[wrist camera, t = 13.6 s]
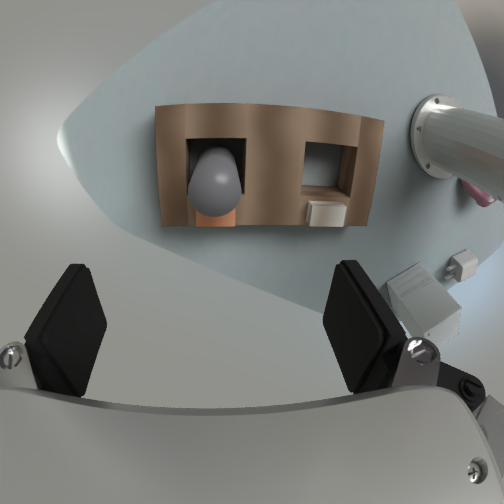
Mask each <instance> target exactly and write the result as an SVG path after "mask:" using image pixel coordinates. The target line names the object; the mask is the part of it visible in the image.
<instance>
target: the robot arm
mask: <svg viewBox="0 0 504 504" xmlns="http://www.w3.org/2000/svg"><path fill="white" fill-rule="evenodd" d="M410 139H411V147H412V151H413V154H414V157H415V159H416V161H417V163H418V164H419V166H420V167H421V168H422V169H423V170H424V171H425V172H426V173H428V174H429V175H431V176H433V177H435V178H439V179H445V178H449V177H452V176H453V175H454V176H456V177H458V178H460V179H462V180H464V181H466V182H468V183H469V184H471V185H473V186H475V187H477V188H479V189H480V190H482V191H484V192H486V193H487V194H489V195H491V196H492V197H494V198H496V199H497V200H499V201H501V202H502V203H504V119H501V118H498V117H494V116H491V115H487V114H483V113H479V112H475V111H471V110H466V109H464V108H463V107H462V105H461V104H460V103H459V102H458V101H457V100H456V99H454V98H452V97H451V96H447V95H443V94H435V95H431V96H429V97H427V98H426V99H424V100H423V101H422V102H421V103H420V105H419V106H418V108H417V109H416V111H415V113H414V116H413V119H412V124H411V135H410ZM323 325H324V328H325V331H326V333H327V336H328V338H329V341H330V343H331V346H332V348H333V351H334V353H335V356H336V359H337V361H338V363H339V366H340V369H341V372H342V374H343V377H344V379H345V382H346V385H347V388H348V390H349V391H350V392H353V393H354V394H353V395H348V396H342V397H336V398H329V399H323V400H317V401H310V402H302V403H294V404H285V405H274V406H262V407H245V408H216V409H215V408H214V409H199V408H165V407H150V406H139V405H128V404H120V403H112V402H104V401H97V400H91V399H85V398H81V396H83V395H84V394H85V392H86V388H87V385H88V382H89V379H90V375H91V372H92V369H93V366H94V363H95V360H96V357H97V353H98V351H99V348H100V345H101V342H102V339H103V337H104V334H105V331H106V328H107V321H106V318H105V315H104V312H103V310H102V306H101V304H100V301H99V298H98V295H97V291H96V288H95V285H94V282H93V279H92V275H91V272H90V270H89V268H86V266H85V265H84V264H70V265H69V266H68V268H67V269H66V271H65V272H64V274H63V275H62V276H61V278H60V279H59V281H58V282H57V284H56V286H55V287H54V288H53V290H52V291H51V293H50V294H49V296H48V298H47V299H46V301H45V302H44V304H43V306H42V307H41V309H40V310H39V312H38V314H37V315H36V317H35V319H34V320H33V322H32V324H31V326H30V327H29V329H28V331H27V333H26V334H25V336H24V338H25V340H26V343H25V345H23V344H22V343H20V342H11V343H8V344H7V345H5V346H4V347H3V348H2V349H1V350H0V504H504V483H503V480H502V478H503V476H504V406H503V405H502V404H501V403H499V402H498V401H497V400H495V399H494V398H493V397H492V396H490V395H488V396H487V397H486V396H485V389H484V386H483V384H482V383H481V381H480V380H479V379H478V378H476V377H475V376H473V375H471V374H468V373H466V372H464V371H461V370H459V369H457V368H455V367H452V366H450V365H448V364H445V363H443V362H441V361H440V359H441V358H440V352H439V350H438V348H437V347H436V345H435V344H434V343H432V342H431V341H430V340H428V339H426V338H422V337H412V338H409V339H408V338H407V337H406V335H405V333H406V332H405V331H404V330H403V328H402V326H401V325H400V323H399V321H398V320H397V318H396V317H395V315H394V314H393V312H392V311H391V309H390V308H389V306H388V305H387V303H386V302H385V300H384V299H383V297H382V296H381V294H380V293H379V291H378V290H377V288H376V287H375V285H374V284H373V283H372V281H371V280H370V278H369V277H368V276H367V274H366V273H365V271H364V270H363V268H362V267H361V266H360V264H359V263H358V262H357V261H356V260H342V261H341V262H340V264H337V265H336V267H335V271H334V275H333V279H332V284H331V288H330V292H329V296H328V300H327V304H326V307H325V311H324V315H323Z"/></svg>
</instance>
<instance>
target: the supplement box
mask: <svg viewBox="0 0 504 504" xmlns="http://www.w3.org/2000/svg"><path fill="white" fill-rule="evenodd" d="M387 287H388V291H389V295H390V300H391V304H392V308H393V309H394V311H395V312H396V314H397V315H398V317H399V318H400V320H401V321H402V322H403V324H404V325H405V327H406V328H407V330H408V331H409V333H410V335H411V336H412V337H422V338H426V339H428V340H430V341H431V342H432V343H434V344H435V345H436V347H437V348H439V347H440V346H441V345H443V344H445V343H446V342H448V341H449V340H450V339H452V338H453V337H455V336H456V335H458V334H459V327H460V317H461V309H462V307H461V306H460V305H459V304H458V303H457V302H456V301H455V300H454V299H453V298H452V296H451V295H450V294H449V293H448V292H447V291H446V290H445V289H444V287H443V286H442V285H441V284H440V283H439V282H438V281H437V280H436V279H435V278H434V277H433V276H432V275H431V274H430V272H429V271H427V270H426V269H425V268H424V267H423V266H422V264H421V263H417V264H416V265H414V266H413V267H411V268H409V269H408V270H406V271H404V272H403V273H401V274H399V275H398V276H396V277H394V278H392V279H391V280H389V281H387Z"/></svg>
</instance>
